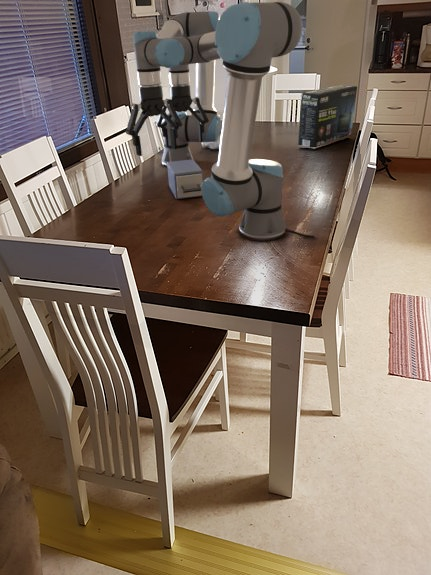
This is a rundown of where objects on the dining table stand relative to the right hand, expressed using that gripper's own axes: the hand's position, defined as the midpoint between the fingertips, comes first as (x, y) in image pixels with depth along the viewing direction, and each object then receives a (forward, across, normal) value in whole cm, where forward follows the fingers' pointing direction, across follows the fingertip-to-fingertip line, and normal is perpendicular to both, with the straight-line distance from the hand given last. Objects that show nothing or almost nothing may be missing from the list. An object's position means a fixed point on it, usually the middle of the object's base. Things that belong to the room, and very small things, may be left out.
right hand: (157, 151), depth 159 cm
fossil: (+21, -66, -62) cm, 93 cm away
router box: (+21, -114, -30) cm, 120 cm away
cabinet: (+21, -17, -13) cm, 30 cm away
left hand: (+3, -19, -15) cm, 25 cm away
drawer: (+20, -16, -8) cm, 27 cm away
